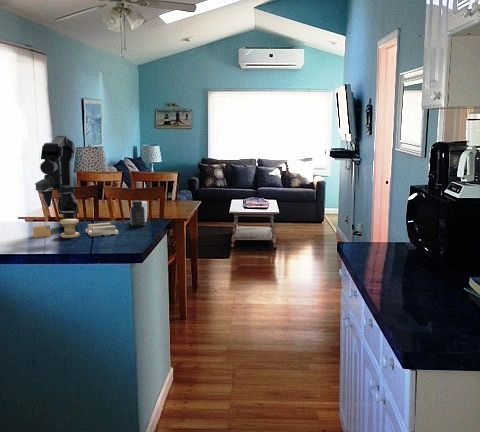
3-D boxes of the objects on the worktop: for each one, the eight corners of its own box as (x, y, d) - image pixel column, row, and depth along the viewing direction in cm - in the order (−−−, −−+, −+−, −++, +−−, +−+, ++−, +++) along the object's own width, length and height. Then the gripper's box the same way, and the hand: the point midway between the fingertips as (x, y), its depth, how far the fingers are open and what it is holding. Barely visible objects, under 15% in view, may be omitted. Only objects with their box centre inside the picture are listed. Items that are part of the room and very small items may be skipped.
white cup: (132, 220, 286) (132, 201, 284) (148, 220, 287) (147, 200, 285) (131, 223, 278) (130, 203, 277) (147, 222, 279) (146, 203, 277)
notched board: (85, 232, 256) (85, 224, 255) (111, 229, 261) (111, 222, 261) (91, 236, 245) (90, 228, 245) (118, 234, 251) (118, 226, 250)
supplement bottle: (146, 224, 275) (145, 200, 273) (142, 226, 268) (142, 202, 266) (133, 224, 276) (132, 200, 274) (129, 226, 269) (128, 201, 267)
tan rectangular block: (33, 236, 248) (32, 226, 247) (49, 234, 251) (49, 224, 250) (34, 237, 245) (33, 227, 244) (50, 236, 248) (50, 226, 247)
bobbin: (59, 235, 249) (58, 219, 248) (77, 233, 253) (76, 218, 251) (62, 238, 242) (61, 222, 241) (81, 236, 245) (80, 221, 244)
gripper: (24, 172, 241) (26, 208, 243) (52, 174, 231) (54, 212, 233) (45, 170, 250) (47, 204, 253) (73, 172, 240) (75, 208, 243)
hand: (55, 207), depth 245 cm, fingers open, 9 cm apart
